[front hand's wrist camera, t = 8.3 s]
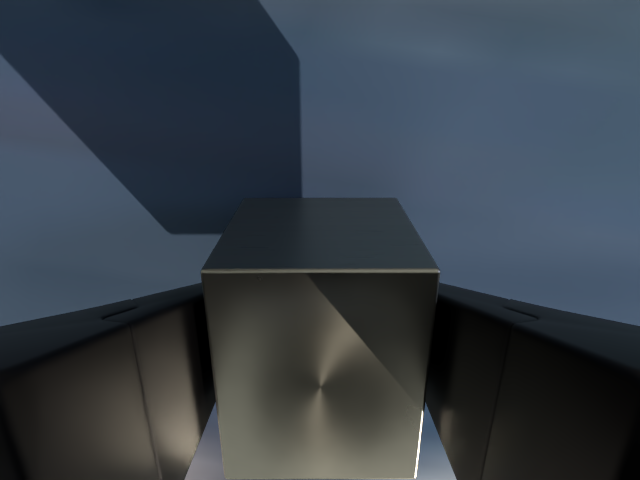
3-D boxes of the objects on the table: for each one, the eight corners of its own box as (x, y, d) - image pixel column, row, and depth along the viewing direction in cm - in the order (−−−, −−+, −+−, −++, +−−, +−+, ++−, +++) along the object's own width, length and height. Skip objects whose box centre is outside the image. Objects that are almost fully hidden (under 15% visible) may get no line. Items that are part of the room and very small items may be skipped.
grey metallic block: (243, 197, 11) (199, 269, 7) (397, 197, 11) (441, 270, 7) (254, 351, 13) (223, 480, 9) (386, 351, 13) (417, 480, 9)
